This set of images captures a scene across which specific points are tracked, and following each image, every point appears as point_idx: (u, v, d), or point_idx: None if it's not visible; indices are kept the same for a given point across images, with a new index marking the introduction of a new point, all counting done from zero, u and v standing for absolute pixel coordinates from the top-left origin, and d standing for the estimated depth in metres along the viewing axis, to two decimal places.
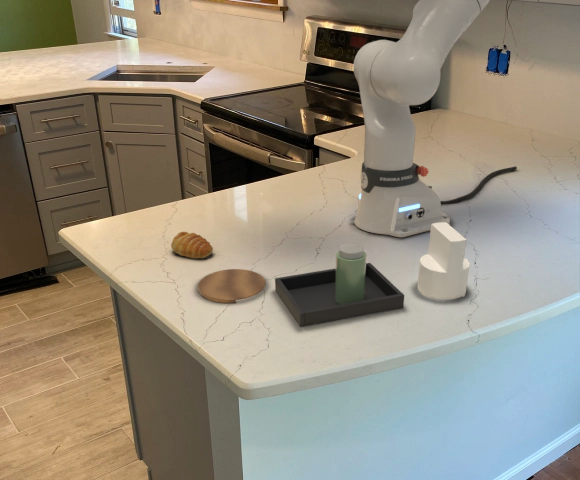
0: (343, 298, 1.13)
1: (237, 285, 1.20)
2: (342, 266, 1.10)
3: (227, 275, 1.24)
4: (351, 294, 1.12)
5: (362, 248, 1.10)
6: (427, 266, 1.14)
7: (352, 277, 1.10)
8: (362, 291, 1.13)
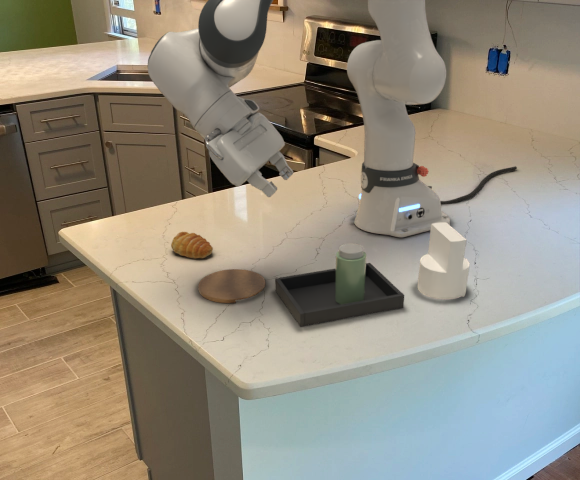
0: (343, 298, 1.13)
1: (237, 285, 1.20)
2: (342, 266, 1.10)
3: (227, 275, 1.24)
4: (351, 294, 1.12)
5: (362, 248, 1.10)
6: (427, 266, 1.14)
7: (352, 277, 1.10)
8: (362, 291, 1.13)
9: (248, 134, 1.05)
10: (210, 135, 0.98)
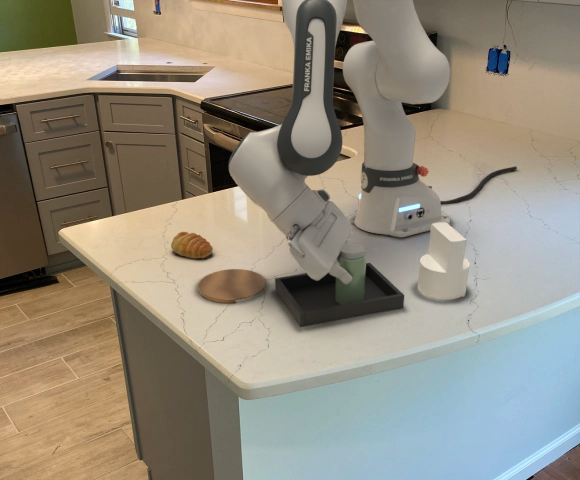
0: (343, 298, 1.13)
1: (237, 285, 1.20)
2: (342, 266, 1.10)
3: (227, 275, 1.24)
4: (351, 294, 1.12)
5: (362, 248, 1.10)
6: (427, 266, 1.14)
7: None
8: (362, 291, 1.13)
9: (323, 225, 1.10)
10: (291, 234, 1.03)
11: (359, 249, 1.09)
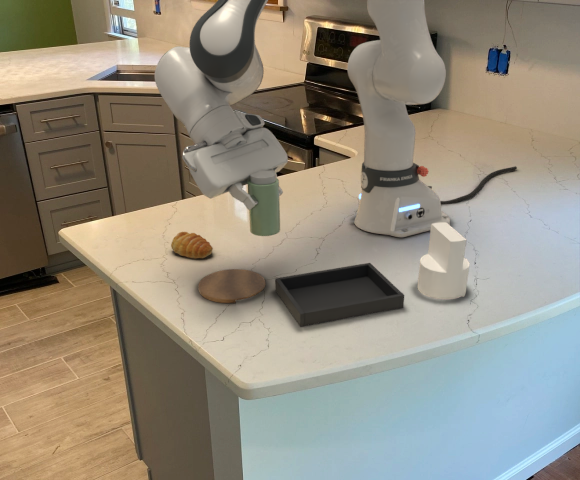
0: (253, 226, 1.09)
1: (237, 285, 1.20)
2: (249, 191, 1.06)
3: (227, 275, 1.24)
4: (259, 223, 1.08)
5: (272, 175, 1.05)
6: (427, 266, 1.14)
7: (258, 204, 1.06)
8: (272, 222, 1.08)
9: (240, 148, 1.07)
10: (189, 147, 1.02)
11: (268, 175, 1.05)
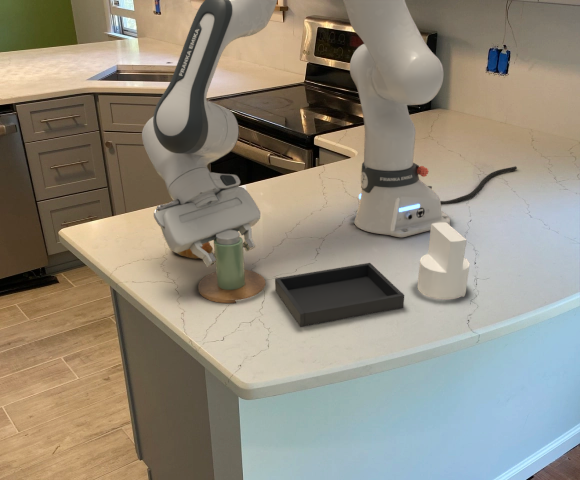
0: (218, 280, 1.19)
1: None
2: (214, 249, 1.16)
3: None
4: (222, 278, 1.18)
5: (235, 236, 1.15)
6: (427, 266, 1.14)
7: (221, 261, 1.16)
8: (234, 278, 1.18)
9: (211, 206, 1.18)
10: (161, 206, 1.14)
11: (231, 236, 1.15)
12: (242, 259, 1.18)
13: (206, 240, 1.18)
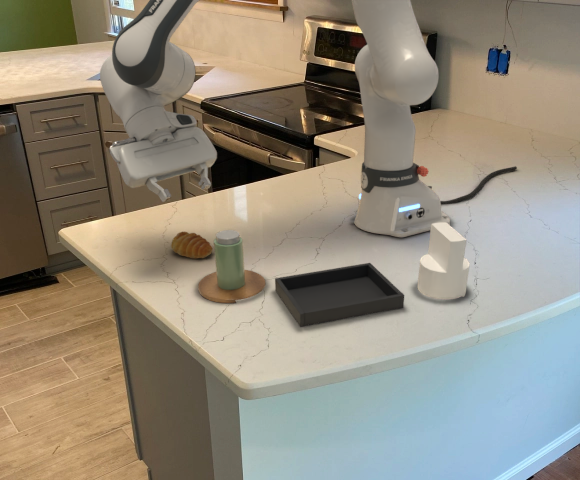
0: (218, 280, 1.19)
1: None
2: (214, 249, 1.16)
3: None
4: (222, 278, 1.18)
5: (235, 236, 1.15)
6: (427, 266, 1.14)
7: (221, 261, 1.16)
8: (234, 278, 1.18)
9: (167, 144, 1.21)
10: (117, 142, 1.17)
11: (231, 236, 1.15)
12: (242, 259, 1.18)
13: (162, 177, 1.21)
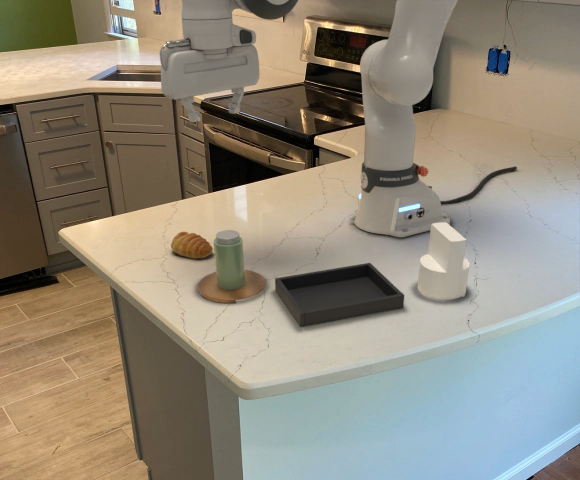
0: (218, 280, 1.19)
1: None
2: (214, 249, 1.16)
3: None
4: (222, 278, 1.18)
5: (235, 236, 1.15)
6: (427, 266, 1.14)
7: (221, 261, 1.16)
8: (234, 278, 1.18)
9: (218, 60, 1.12)
10: (171, 44, 1.06)
11: (231, 236, 1.15)
12: (242, 259, 1.18)
13: None
